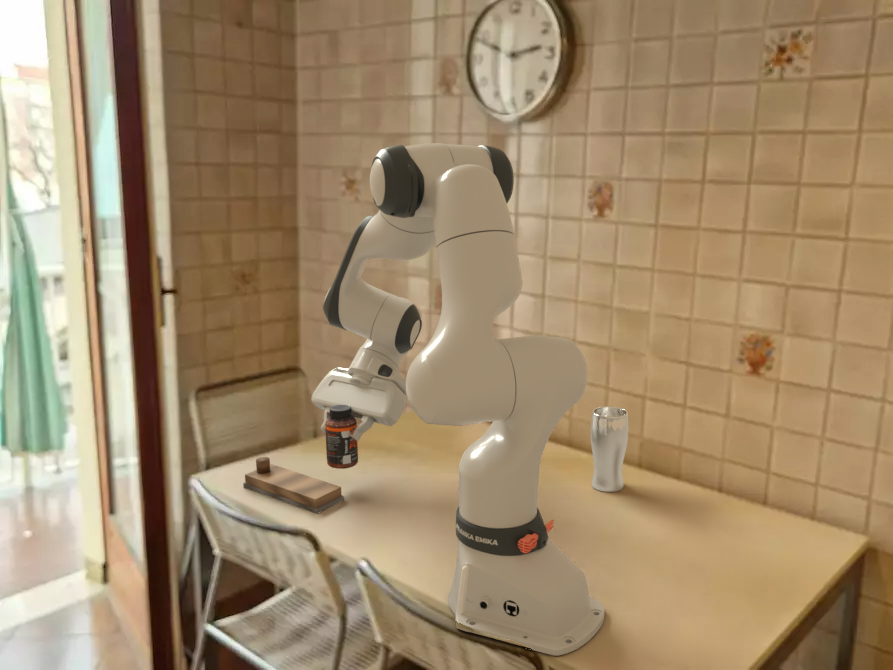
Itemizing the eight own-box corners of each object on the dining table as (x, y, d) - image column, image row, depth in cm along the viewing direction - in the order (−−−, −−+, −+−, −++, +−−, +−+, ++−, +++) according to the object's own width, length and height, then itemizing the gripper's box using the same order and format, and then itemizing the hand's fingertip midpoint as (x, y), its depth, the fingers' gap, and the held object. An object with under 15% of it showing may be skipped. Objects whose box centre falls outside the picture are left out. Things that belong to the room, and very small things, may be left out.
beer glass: (623, 479, 162) (626, 406, 159) (627, 493, 156) (631, 418, 152) (587, 477, 163) (590, 405, 160) (590, 492, 156) (592, 417, 153)
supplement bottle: (356, 470, 155) (353, 412, 153) (324, 470, 155) (321, 412, 153) (360, 458, 161) (357, 402, 159) (329, 458, 161) (326, 402, 159)
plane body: (344, 500, 154) (342, 475, 153) (317, 513, 149) (315, 487, 148) (271, 475, 166) (269, 451, 165) (243, 487, 161) (241, 462, 159)
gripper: (324, 357, 166) (291, 417, 160) (403, 372, 154) (370, 437, 148) (341, 374, 170) (309, 432, 165) (419, 389, 158) (387, 453, 153)
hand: (338, 435), depth 156 cm, fingers closed on supplement bottle, 6 cm apart
